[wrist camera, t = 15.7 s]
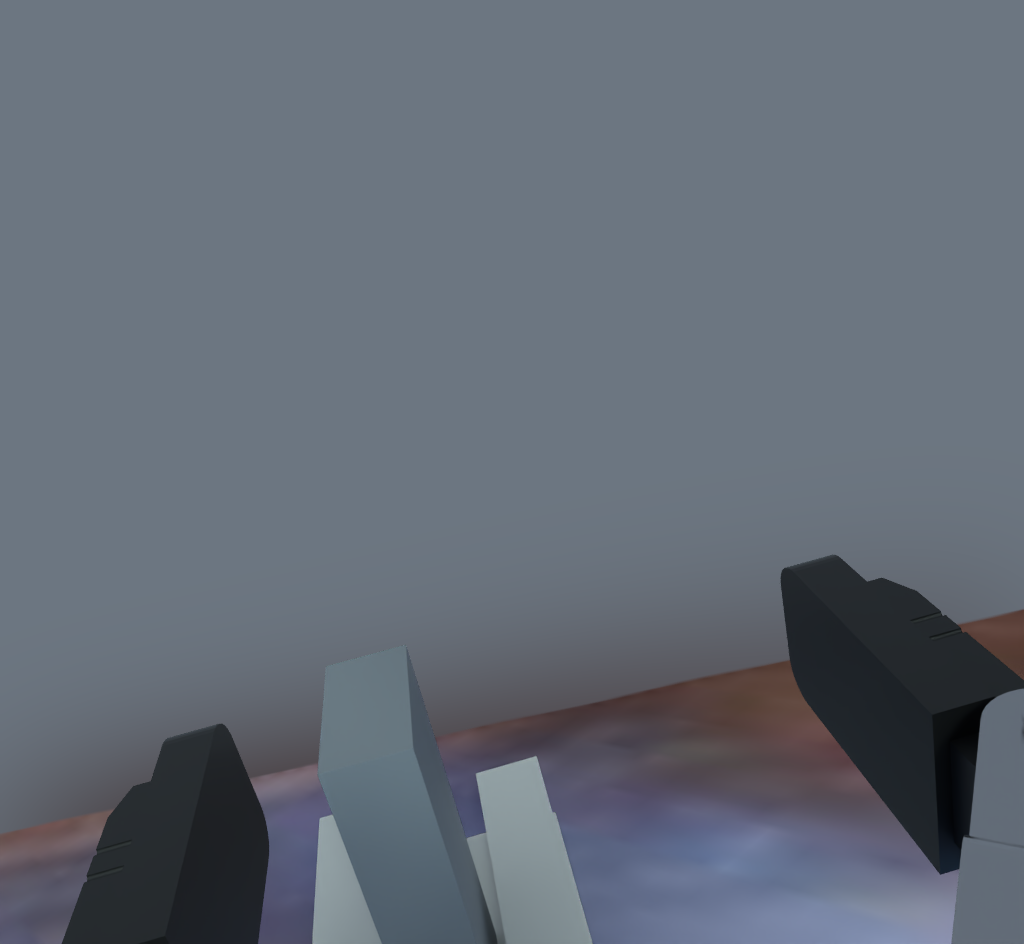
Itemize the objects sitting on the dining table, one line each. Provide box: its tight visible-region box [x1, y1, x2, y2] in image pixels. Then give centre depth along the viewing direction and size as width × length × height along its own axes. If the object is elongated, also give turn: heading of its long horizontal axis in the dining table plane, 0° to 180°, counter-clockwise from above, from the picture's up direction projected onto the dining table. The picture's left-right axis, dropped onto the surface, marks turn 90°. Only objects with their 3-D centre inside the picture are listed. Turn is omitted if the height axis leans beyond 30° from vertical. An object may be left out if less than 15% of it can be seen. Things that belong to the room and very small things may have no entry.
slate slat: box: [318, 645, 498, 944], centre depth 33 cm, size 3×6×15 cm, turn 9°
